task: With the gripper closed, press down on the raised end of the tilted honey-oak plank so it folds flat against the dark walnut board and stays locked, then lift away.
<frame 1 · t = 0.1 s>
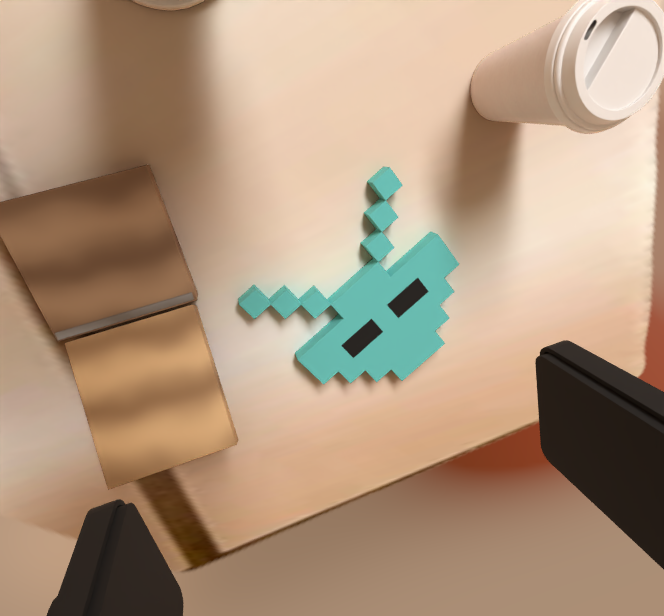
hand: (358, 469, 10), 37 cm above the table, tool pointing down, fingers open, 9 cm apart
oak plank: (154, 393, 43), point 4 cm above the table, hinge at 25.0°
alien figure: (366, 297, 50), on the table
coffee cup: (498, 86, 45), on the table
walnut board: (105, 252, 41), on the table
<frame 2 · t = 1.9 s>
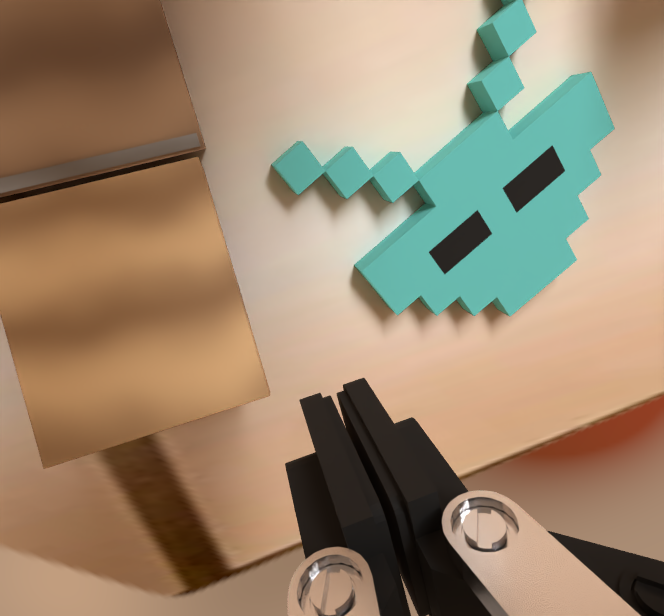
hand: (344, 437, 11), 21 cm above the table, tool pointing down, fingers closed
oak plank: (130, 307, 25), point 4 cm above the table, hinge at 25.0°
alien figure: (464, 183, 32), on the table
walnut board: (45, 52, 23), on the table
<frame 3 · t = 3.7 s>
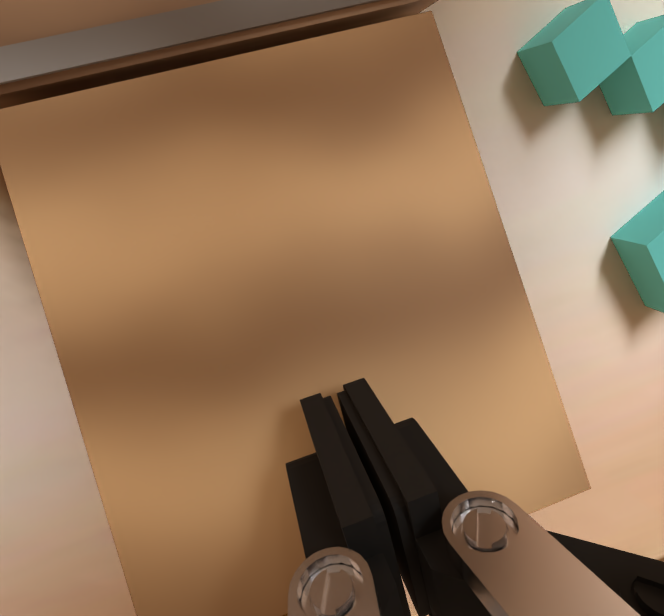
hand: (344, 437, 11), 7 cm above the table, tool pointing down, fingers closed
oak plank: (302, 313, 13), point 4 cm above the table, hinge at 24.4°, touching gripper
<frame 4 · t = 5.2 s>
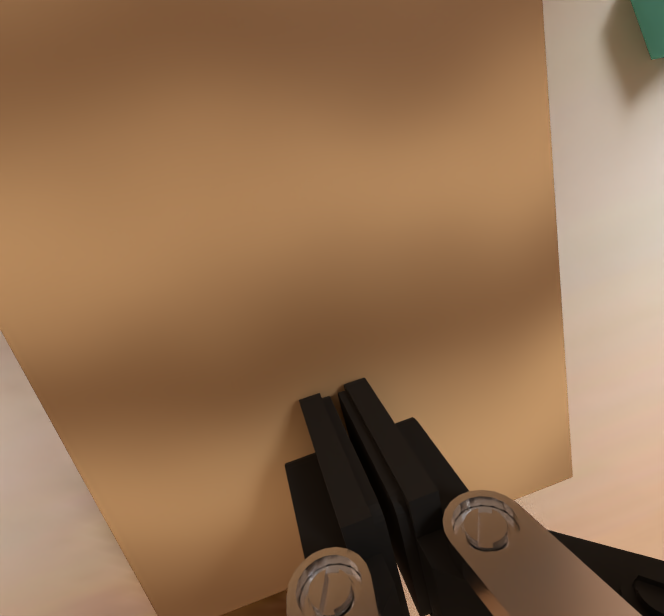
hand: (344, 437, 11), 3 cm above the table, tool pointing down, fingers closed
oak plank: (314, 312, 11), point 2 cm above the table, hinge at 3.7°, touching gripper
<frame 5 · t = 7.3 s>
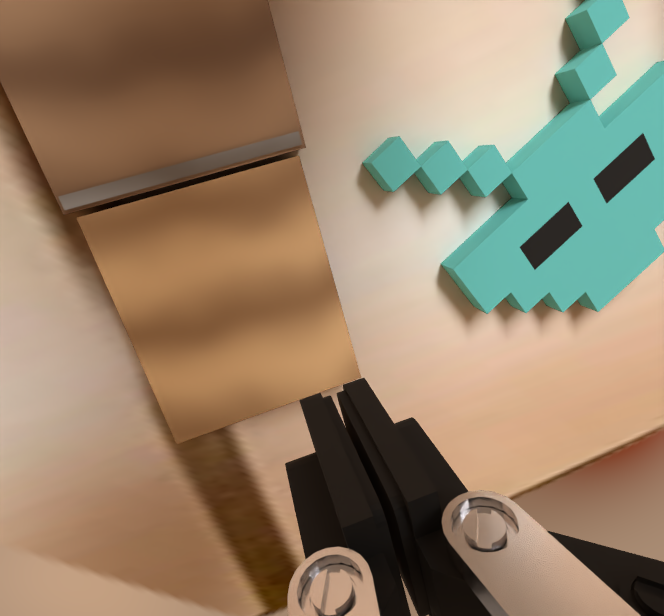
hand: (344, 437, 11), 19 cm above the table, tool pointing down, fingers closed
oak plank: (234, 302, 27), point 2 cm above the table, hinge at 3.7°
alien figure: (548, 176, 32), on the table
walnut board: (147, 56, 23), on the table
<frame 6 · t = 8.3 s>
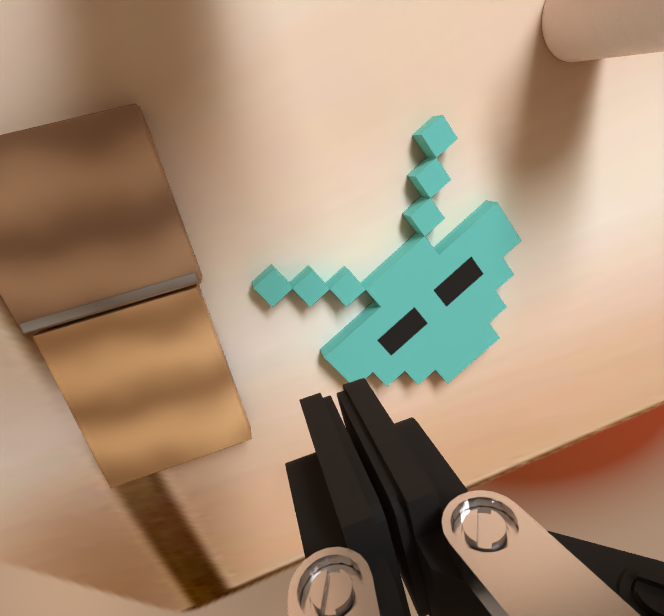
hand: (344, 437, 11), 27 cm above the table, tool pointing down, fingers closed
oak plank: (153, 386, 36), point 2 cm above the table, hinge at 3.7°
alien figure: (406, 282, 41), on the table
coffee cup: (574, 17, 36), on the table
walnut board: (84, 220, 32), on the table
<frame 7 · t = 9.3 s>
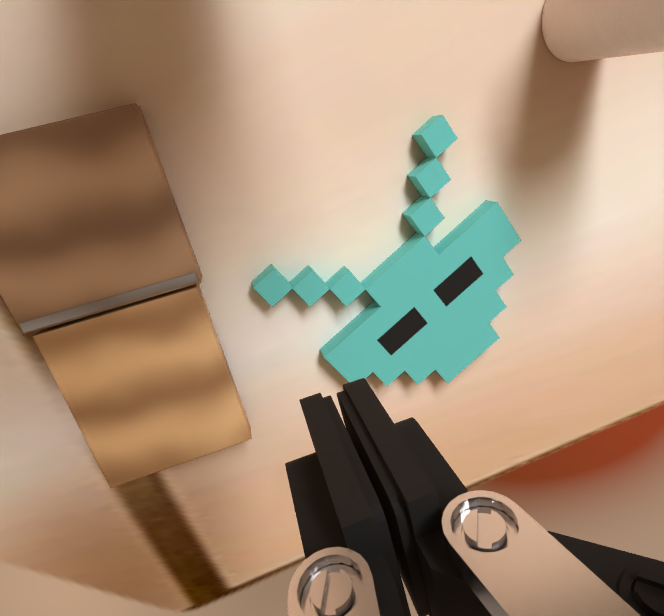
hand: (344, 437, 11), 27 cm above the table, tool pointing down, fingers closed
oak plank: (153, 386, 36), point 2 cm above the table, hinge at 3.7°
alien figure: (405, 282, 41), on the table
coffee cup: (574, 17, 36), on the table
walnut board: (84, 220, 32), on the table
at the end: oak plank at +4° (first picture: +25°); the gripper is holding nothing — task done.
